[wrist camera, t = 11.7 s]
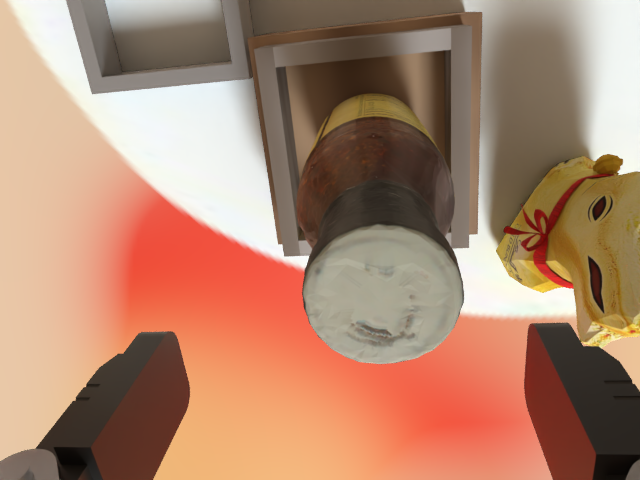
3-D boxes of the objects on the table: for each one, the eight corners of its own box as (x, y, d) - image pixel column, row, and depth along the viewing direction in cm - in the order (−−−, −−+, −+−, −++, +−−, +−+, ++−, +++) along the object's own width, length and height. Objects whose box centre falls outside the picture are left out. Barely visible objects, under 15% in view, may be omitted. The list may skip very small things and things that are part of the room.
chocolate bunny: (629, 156, 35) (784, 247, 22) (538, 280, 40) (620, 420, 26) (542, 115, 35) (645, 182, 21) (460, 246, 40) (503, 370, 26)
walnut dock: (465, 11, 33) (493, 12, 25) (463, 201, 38) (486, 254, 30) (268, 33, 35) (233, 41, 26) (292, 212, 40) (269, 264, 32)
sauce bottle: (370, 210, 33) (364, 452, 14) (298, 142, 31) (193, 315, 13) (449, 137, 30) (560, 317, 12) (375, 60, 29) (375, 134, 11)
